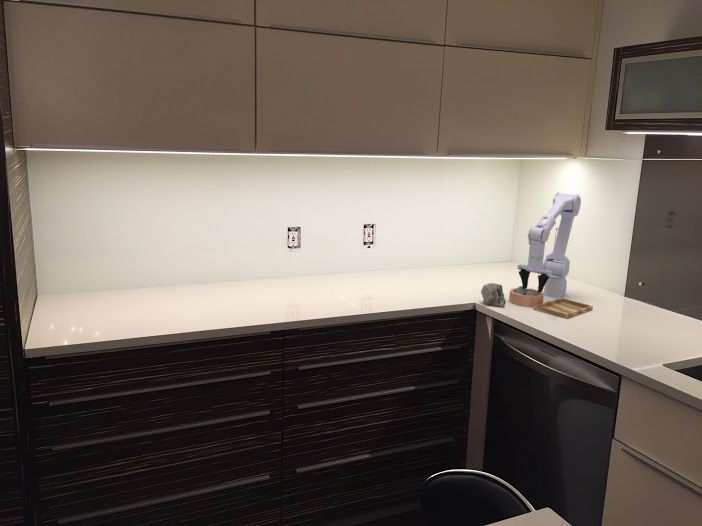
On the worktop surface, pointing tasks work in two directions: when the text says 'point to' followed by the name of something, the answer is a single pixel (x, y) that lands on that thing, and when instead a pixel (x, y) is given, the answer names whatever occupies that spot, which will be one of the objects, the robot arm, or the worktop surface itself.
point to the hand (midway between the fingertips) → (532, 290)
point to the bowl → (525, 298)
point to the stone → (493, 294)
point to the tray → (563, 308)
